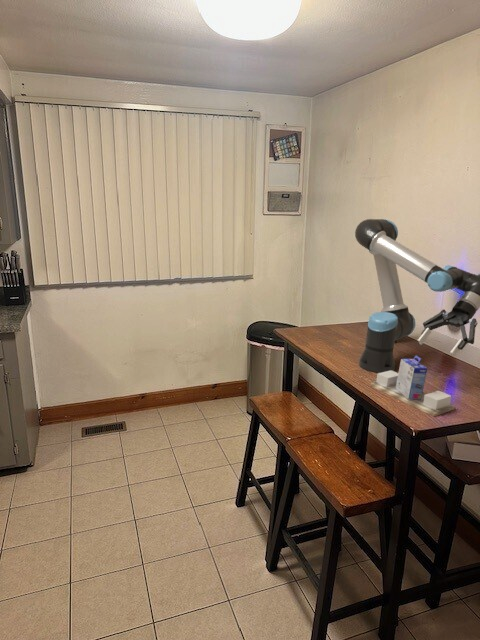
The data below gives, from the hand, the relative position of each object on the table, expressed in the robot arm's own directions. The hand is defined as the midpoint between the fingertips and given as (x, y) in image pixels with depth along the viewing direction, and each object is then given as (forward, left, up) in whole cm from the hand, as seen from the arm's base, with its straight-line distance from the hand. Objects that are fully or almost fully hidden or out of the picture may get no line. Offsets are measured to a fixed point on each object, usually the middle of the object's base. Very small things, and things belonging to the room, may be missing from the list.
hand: (435, 348), depth 163 cm
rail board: (-6, -8, -18) cm, 20 cm away
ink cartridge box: (-7, -9, -16) cm, 20 cm away
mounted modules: (-6, -8, -16) cm, 19 cm away
